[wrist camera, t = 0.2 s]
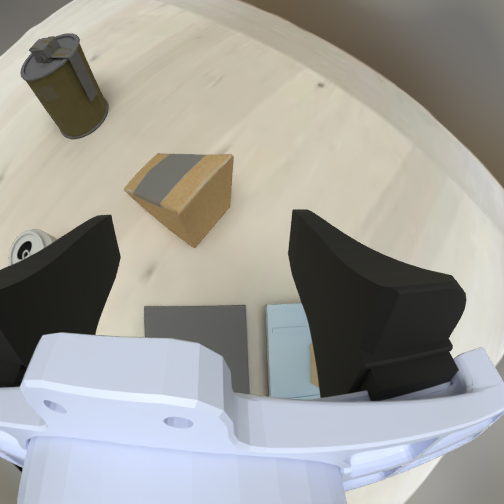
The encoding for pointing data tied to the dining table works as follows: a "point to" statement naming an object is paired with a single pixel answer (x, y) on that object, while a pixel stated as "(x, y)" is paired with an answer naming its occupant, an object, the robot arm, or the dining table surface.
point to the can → (29, 244)
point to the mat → (206, 333)
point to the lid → (290, 353)
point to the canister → (65, 85)
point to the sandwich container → (185, 192)
